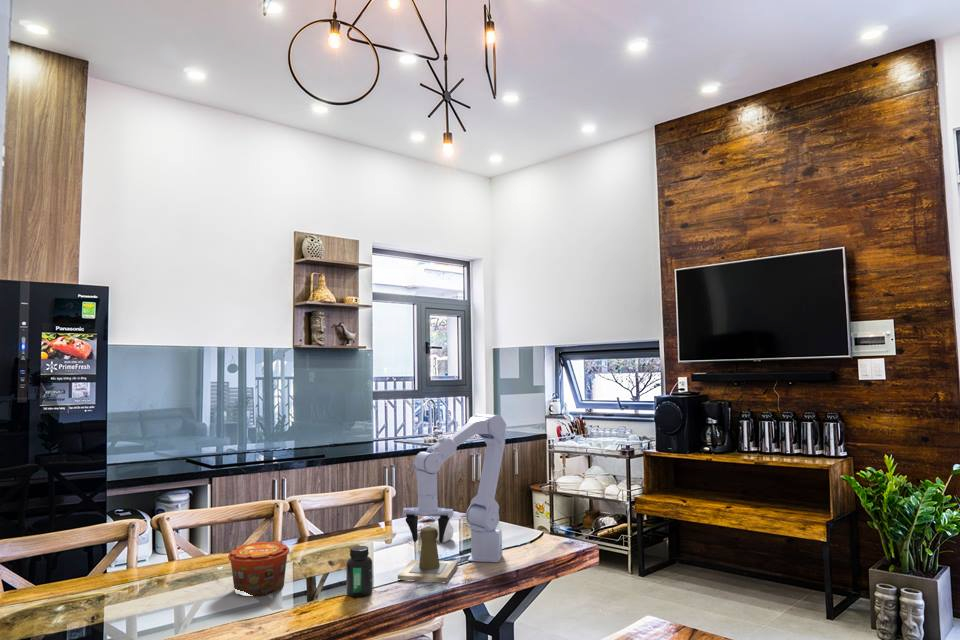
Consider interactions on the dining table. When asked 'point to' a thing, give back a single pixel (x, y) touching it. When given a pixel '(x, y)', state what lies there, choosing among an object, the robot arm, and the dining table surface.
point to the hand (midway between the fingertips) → (428, 541)
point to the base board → (428, 572)
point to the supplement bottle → (359, 573)
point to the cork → (429, 549)
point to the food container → (259, 567)
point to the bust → (448, 530)
